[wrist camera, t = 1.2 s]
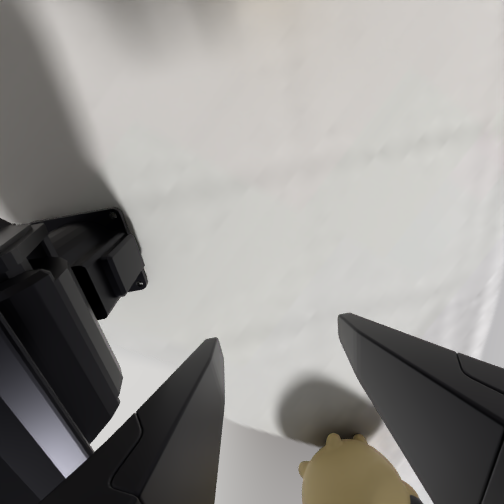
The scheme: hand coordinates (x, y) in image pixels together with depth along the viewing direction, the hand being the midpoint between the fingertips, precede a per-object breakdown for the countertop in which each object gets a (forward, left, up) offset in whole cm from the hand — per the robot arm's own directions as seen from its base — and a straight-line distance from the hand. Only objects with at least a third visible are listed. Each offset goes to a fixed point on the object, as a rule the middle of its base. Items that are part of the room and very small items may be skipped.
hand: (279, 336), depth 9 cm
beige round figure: (+6, -29, -12) cm, 32 cm away
